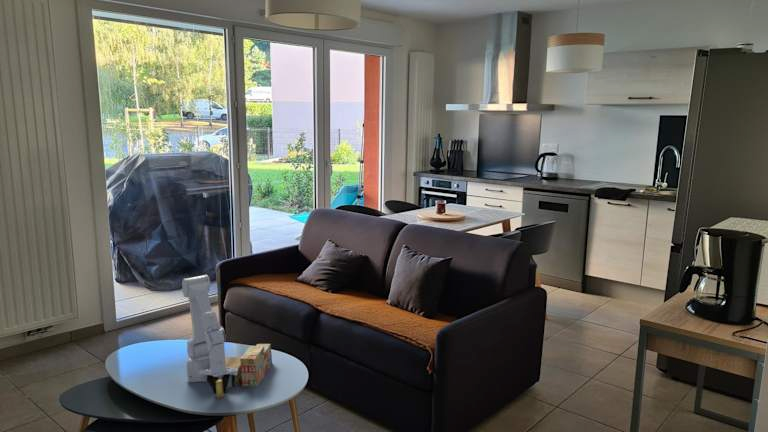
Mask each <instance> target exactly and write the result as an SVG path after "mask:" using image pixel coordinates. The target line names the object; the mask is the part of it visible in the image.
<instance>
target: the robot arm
mask: <svg viewBox="0 0 768 432" xmlns="http://www.w3.org/2000/svg"><path fill="white" fill-rule="evenodd" d="M181 287H182V294H183V297H184V298H187V299H188V303H189V312H190V318H191V319H190V320H191V326H192V333H193V334H192V336H191V337H190V338H189V340H187V343H186V344H187V345H186V347H187V348H186V350H187V357H188V359H187V362H186V375H187V383H196V382H198V383H200V382H207V383H208V384H209V385H210V388H211V389H212V390H211V391H212V393H213V394H214V395H216V386H215V381H216V377H218V376H219V375H223V377H222V383H223V393H224V394H225V395H226V394H227V391H228V387H227V385H228V381H229V378H230V376H231V375H237V374H238V369H234V368H226V362H225V357H226V353H225V352H226V351H225V343H227V335H226V331H225V329H224V327H223V326H222V325H221V324H220V320H219V318H218V316H217V313H216V312H215V311H213V309H212V305H211V302H210V301H211V300H210V296H209V293H210V290H211V280H210V276H208V274H203V275H197V276H192V277H188V278H186V277H185V278H183V279H182V280H181Z"/></svg>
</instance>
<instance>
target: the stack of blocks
mask: <svg viewBox="0 0 768 432" xmlns="http://www.w3.org/2000/svg"><path fill="white" fill-rule="evenodd" d="M271 345H272V344H271V343H257V344H256V345H250V346H249V347H248V348H247V349H246V350H245V352H244V354H243V355H241V356H240V357H241V358H240V362H241V375H242V379H241V386H242V387H258V385H260V383H261V381H262V380H263V378H264V377H265V375H266V373H267V372H268V370H269V369H270V367H271V366H272V364H273V357H272V346H271Z"/></svg>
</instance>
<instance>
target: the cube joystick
mask: <svg viewBox="0 0 768 432" xmlns="http://www.w3.org/2000/svg"><path fill="white" fill-rule="evenodd" d="M222 377H223V375H219V376H218V380H217V381H215V386H216V394H215V396H216V398H217V399H218V398H220V399H221V398H224V397H225V395H226V393H225V394H224V393H223V383H222ZM234 384H235V380H234V375H231V376H230V378H229V381H228V385H227V388H233V385H234Z"/></svg>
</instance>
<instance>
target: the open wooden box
mask: <svg viewBox="0 0 768 432" xmlns="http://www.w3.org/2000/svg"><path fill="white" fill-rule="evenodd" d="M241 357H242V356H230V357H229V356H228V357H226V356H225V362H226V368H234V369H238V374H237V375H234V380H235V381H234V387H239V385H240V383H241V382H242V375H241V362H240V358H241ZM217 380H218V377H216V381H217Z"/></svg>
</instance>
